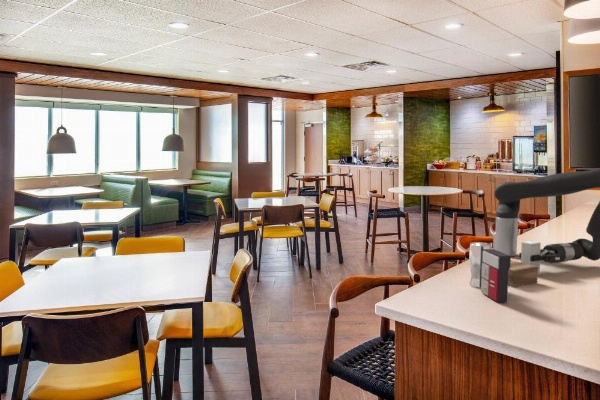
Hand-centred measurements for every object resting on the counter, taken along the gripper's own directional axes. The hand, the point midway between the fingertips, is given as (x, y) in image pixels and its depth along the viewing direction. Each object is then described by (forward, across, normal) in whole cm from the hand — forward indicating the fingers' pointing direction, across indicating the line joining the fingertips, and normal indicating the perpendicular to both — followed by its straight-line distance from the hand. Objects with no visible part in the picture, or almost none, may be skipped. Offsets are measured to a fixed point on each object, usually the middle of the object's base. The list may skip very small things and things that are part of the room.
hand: (525, 257), depth 177 cm
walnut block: (+12, +5, +7) cm, 15 cm away
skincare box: (-3, 0, +7) cm, 7 cm away
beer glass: (+27, +6, +7) cm, 28 cm away
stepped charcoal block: (+32, +18, +7) cm, 37 cm away
